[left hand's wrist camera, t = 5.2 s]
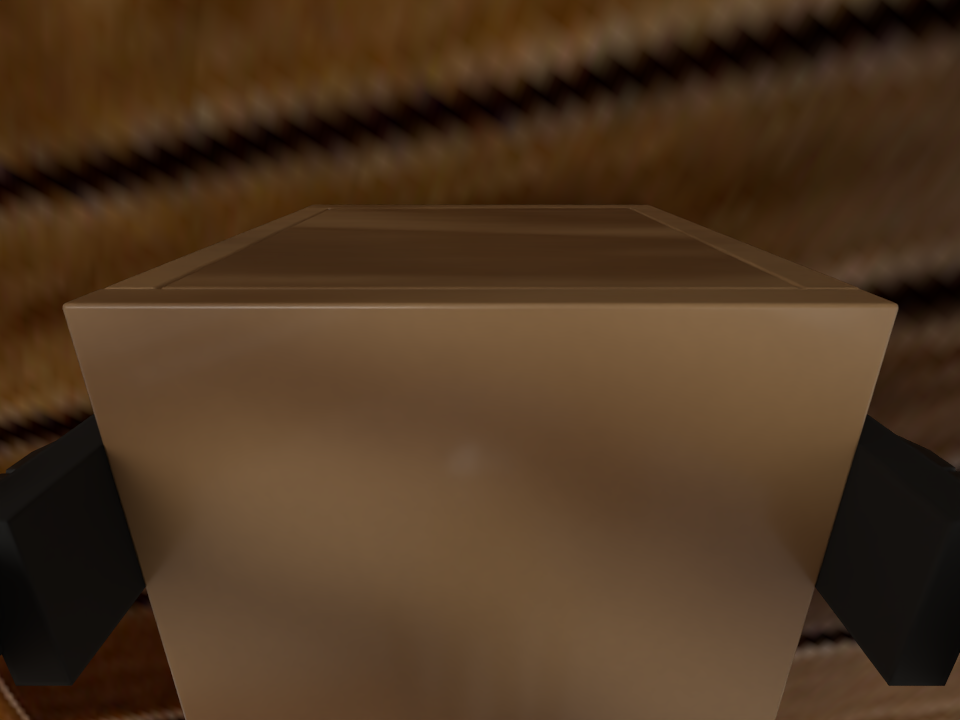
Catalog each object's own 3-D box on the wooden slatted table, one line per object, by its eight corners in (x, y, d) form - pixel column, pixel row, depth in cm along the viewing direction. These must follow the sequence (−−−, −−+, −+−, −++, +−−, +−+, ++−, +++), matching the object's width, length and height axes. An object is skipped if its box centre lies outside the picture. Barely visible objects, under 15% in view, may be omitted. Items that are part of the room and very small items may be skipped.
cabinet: (602, 621, 25) (695, 991, 14) (358, 621, 25) (264, 990, 14) (649, 204, 18) (902, 304, 7) (311, 204, 18) (59, 303, 7)
